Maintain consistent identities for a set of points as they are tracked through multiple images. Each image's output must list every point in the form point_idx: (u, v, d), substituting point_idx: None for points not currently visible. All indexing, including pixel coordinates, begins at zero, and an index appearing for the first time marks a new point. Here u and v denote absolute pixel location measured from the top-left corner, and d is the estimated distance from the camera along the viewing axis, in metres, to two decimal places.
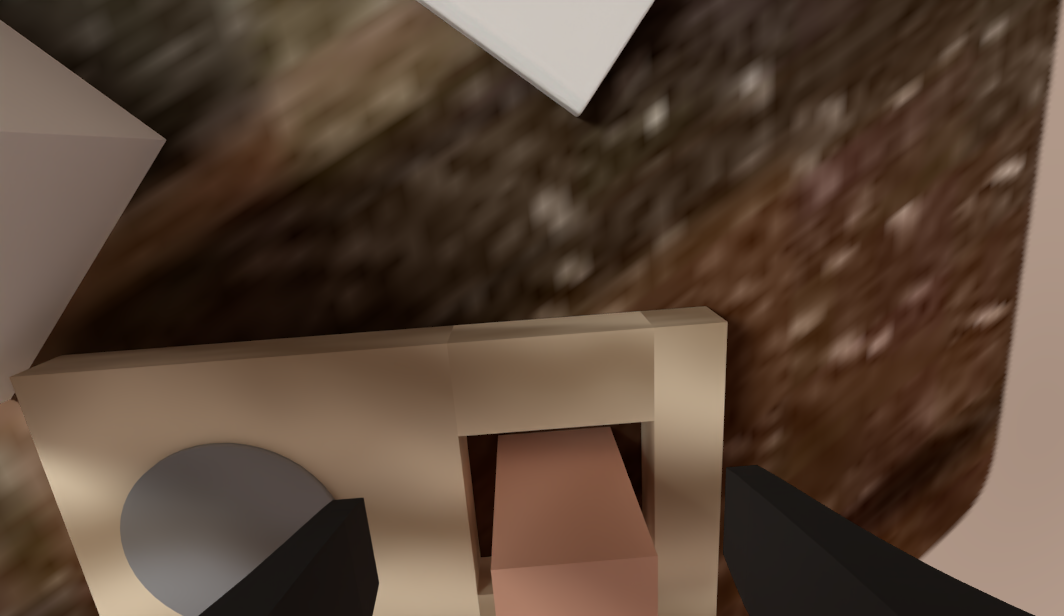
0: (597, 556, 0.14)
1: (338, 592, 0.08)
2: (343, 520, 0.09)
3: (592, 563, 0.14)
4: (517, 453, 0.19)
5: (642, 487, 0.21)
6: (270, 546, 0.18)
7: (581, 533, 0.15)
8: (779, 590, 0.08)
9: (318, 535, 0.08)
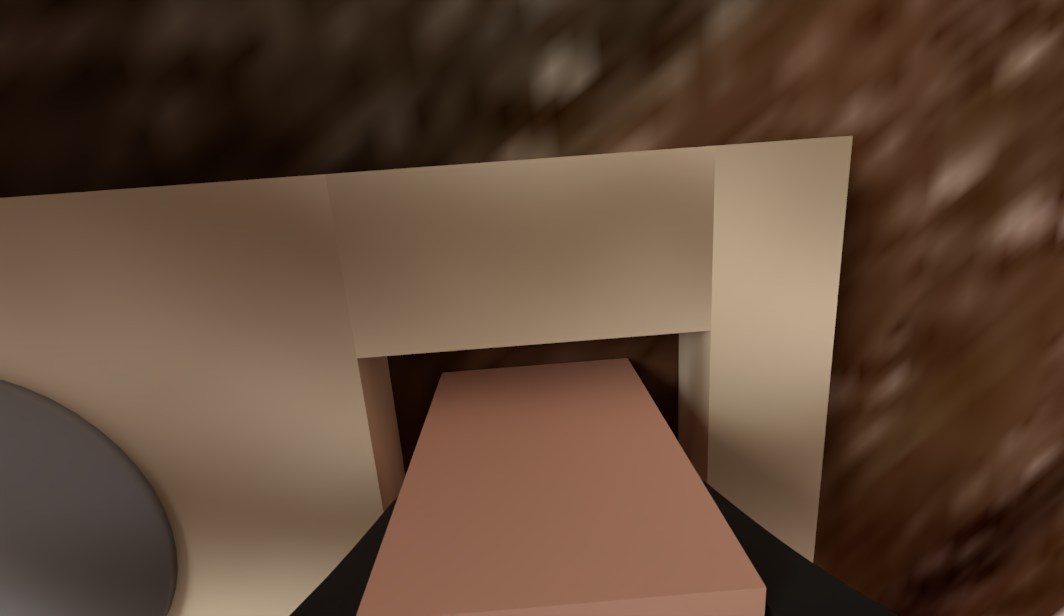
0: (616, 587, 0.06)
1: None
2: None
3: (605, 606, 0.06)
4: (468, 395, 0.11)
5: None
6: (31, 558, 0.10)
7: (579, 533, 0.07)
8: None
9: None
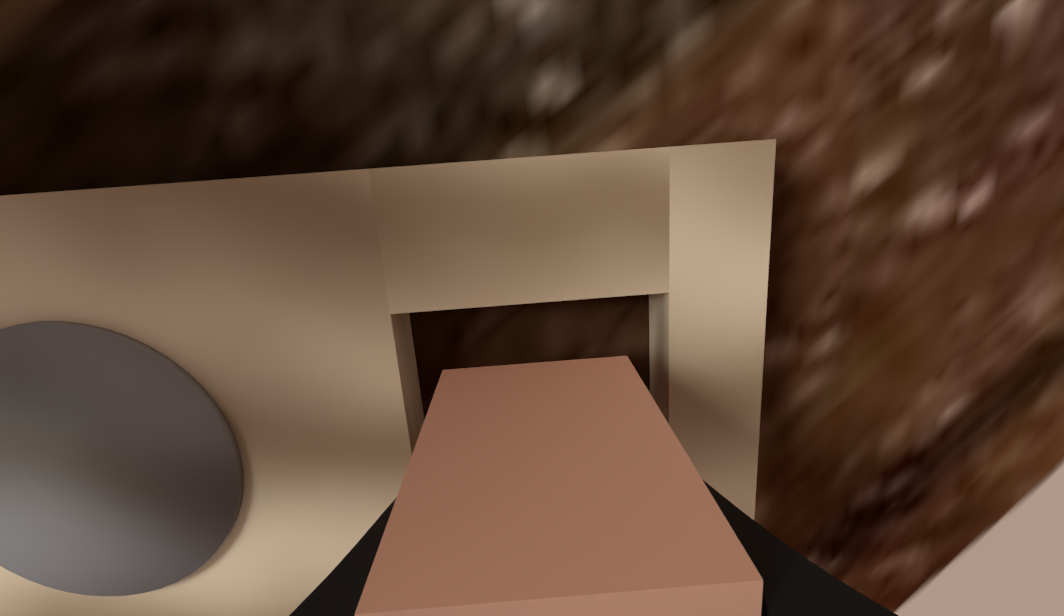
0: (615, 581, 0.06)
1: None
2: None
3: (603, 598, 0.06)
4: (468, 392, 0.11)
5: None
6: (130, 474, 0.13)
7: (578, 527, 0.07)
8: None
9: None
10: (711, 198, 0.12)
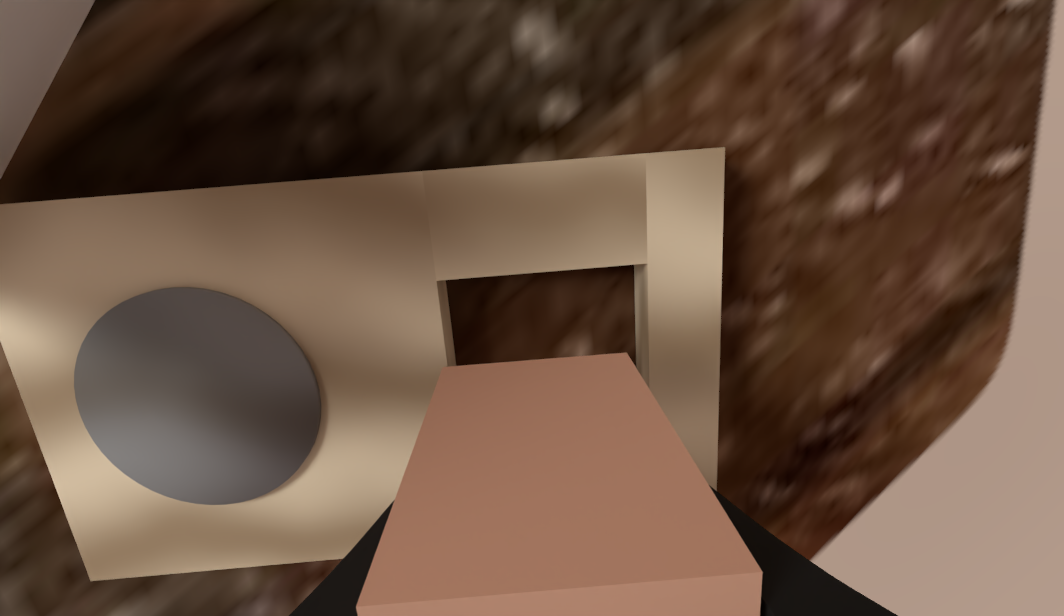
0: (614, 574, 0.06)
1: None
2: None
3: (604, 590, 0.06)
4: (469, 389, 0.11)
5: (636, 358, 0.20)
6: (236, 405, 0.17)
7: (578, 520, 0.07)
8: None
9: None
10: (677, 191, 0.16)
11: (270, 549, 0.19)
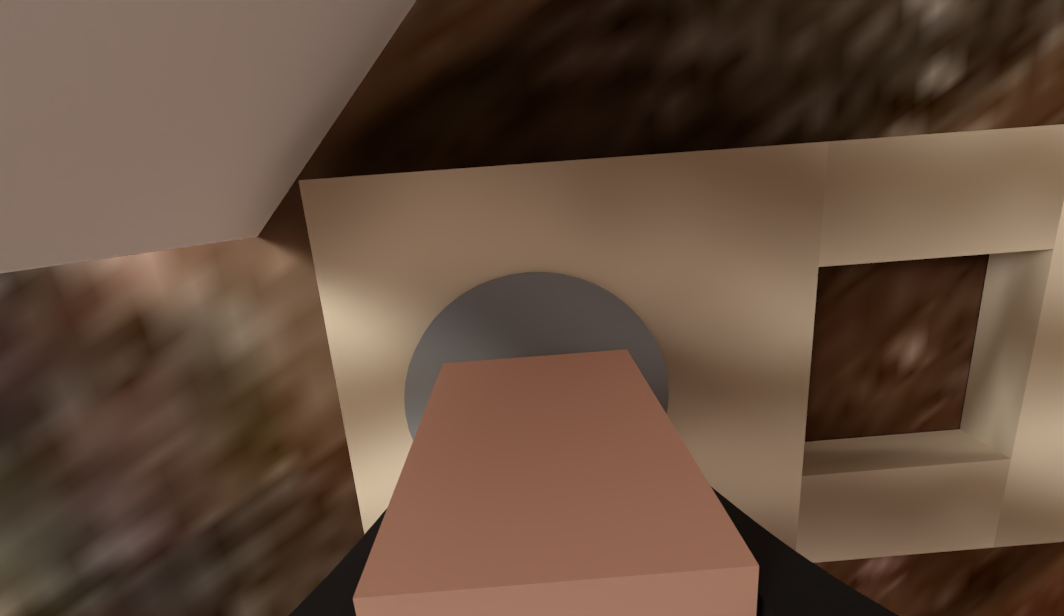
0: (611, 566, 0.06)
1: None
2: None
3: (600, 583, 0.06)
4: (468, 385, 0.11)
5: (975, 356, 0.18)
6: None
7: (576, 514, 0.07)
8: None
9: None
10: None
11: None
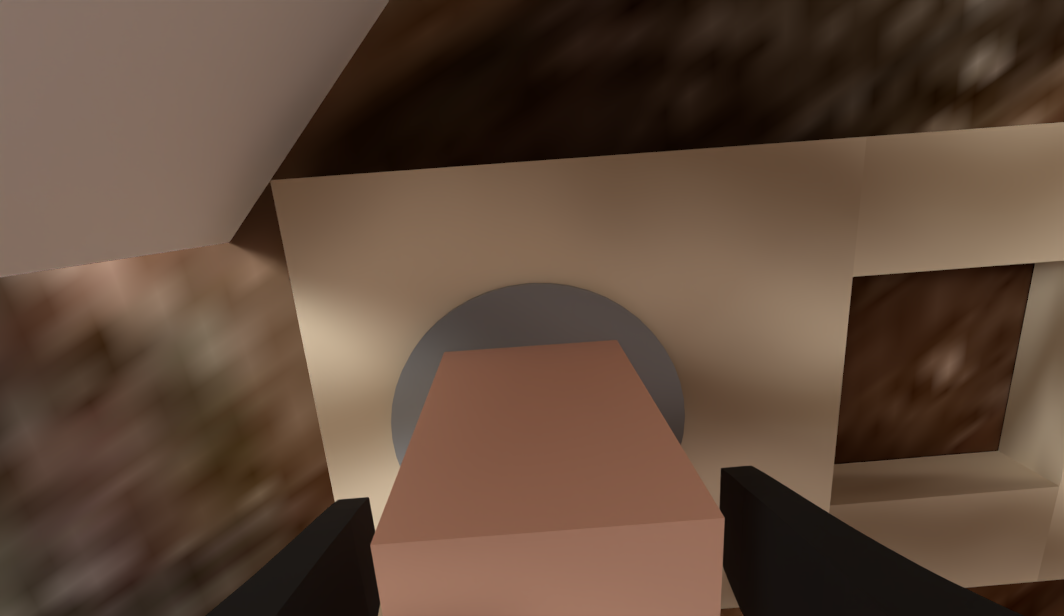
0: (596, 520, 0.07)
1: (344, 591, 0.08)
2: (349, 519, 0.09)
3: (586, 533, 0.06)
4: (469, 371, 0.12)
5: (1018, 372, 0.16)
6: None
7: (566, 478, 0.07)
8: (772, 591, 0.08)
9: (324, 534, 0.08)
10: None
11: None
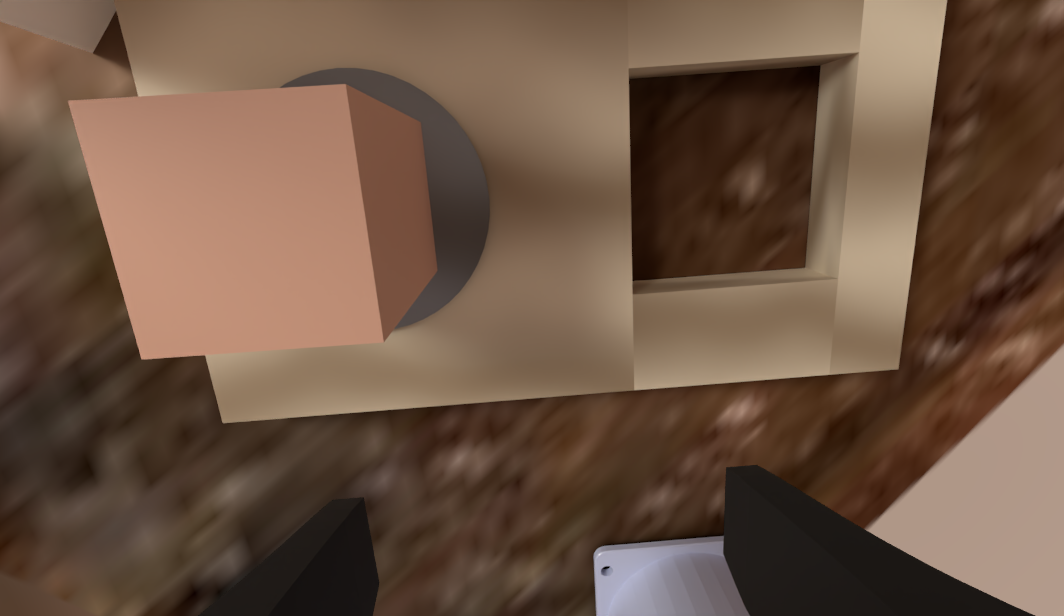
0: (251, 91, 0.08)
1: (338, 592, 0.08)
2: (343, 520, 0.09)
3: (237, 95, 0.08)
4: None
5: (813, 188, 0.18)
6: None
7: None
8: (779, 590, 0.08)
9: (318, 535, 0.08)
10: None
11: (419, 389, 0.18)
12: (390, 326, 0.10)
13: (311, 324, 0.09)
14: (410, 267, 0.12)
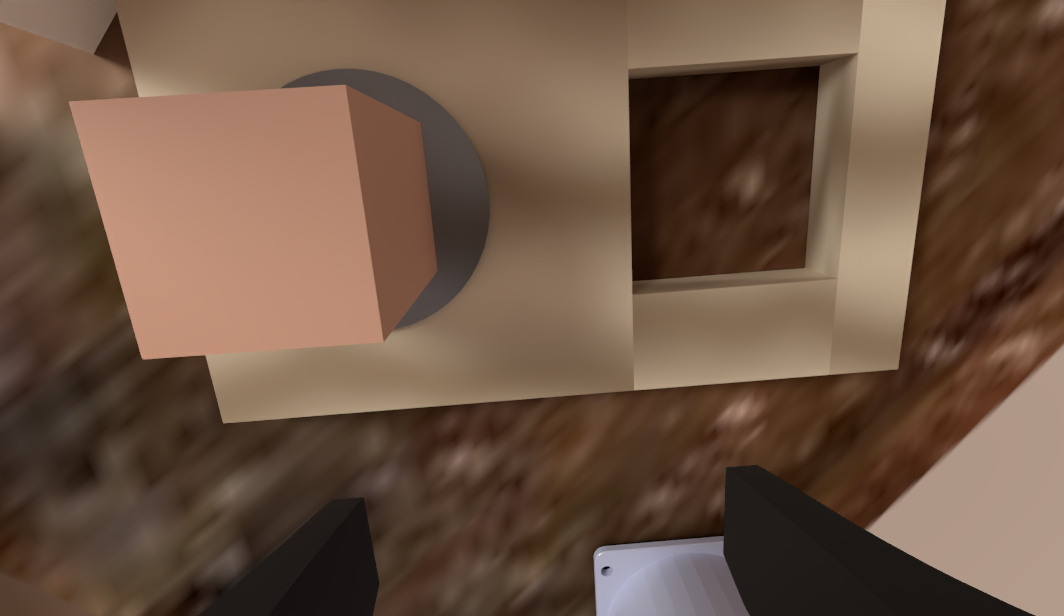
0: (251, 91, 0.08)
1: (338, 592, 0.08)
2: (343, 520, 0.09)
3: (238, 95, 0.08)
4: None
5: (813, 188, 0.18)
6: None
7: None
8: (779, 590, 0.08)
9: (318, 535, 0.08)
10: None
11: (419, 389, 0.18)
12: (390, 326, 0.10)
13: (311, 324, 0.09)
14: (410, 267, 0.12)
